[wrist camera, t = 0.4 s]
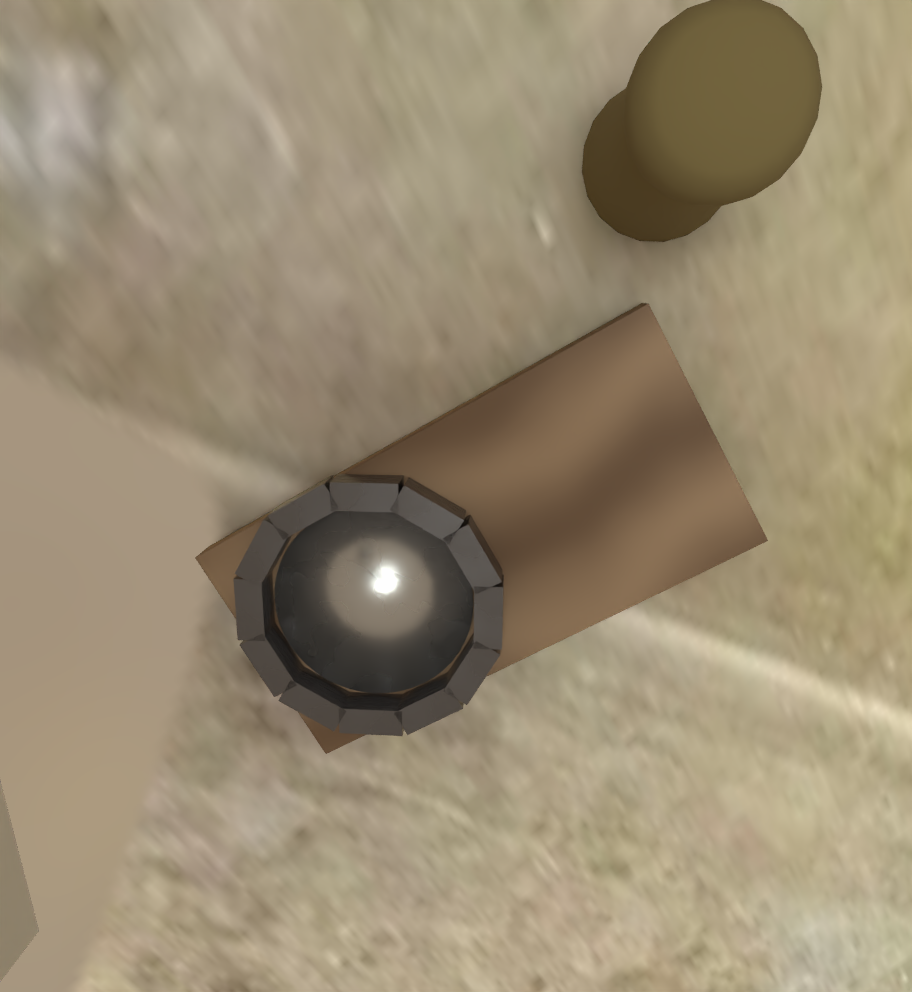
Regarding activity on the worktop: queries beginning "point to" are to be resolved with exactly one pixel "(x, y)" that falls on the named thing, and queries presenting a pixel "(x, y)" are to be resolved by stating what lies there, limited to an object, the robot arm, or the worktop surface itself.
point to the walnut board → (568, 488)
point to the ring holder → (370, 604)
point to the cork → (703, 119)
